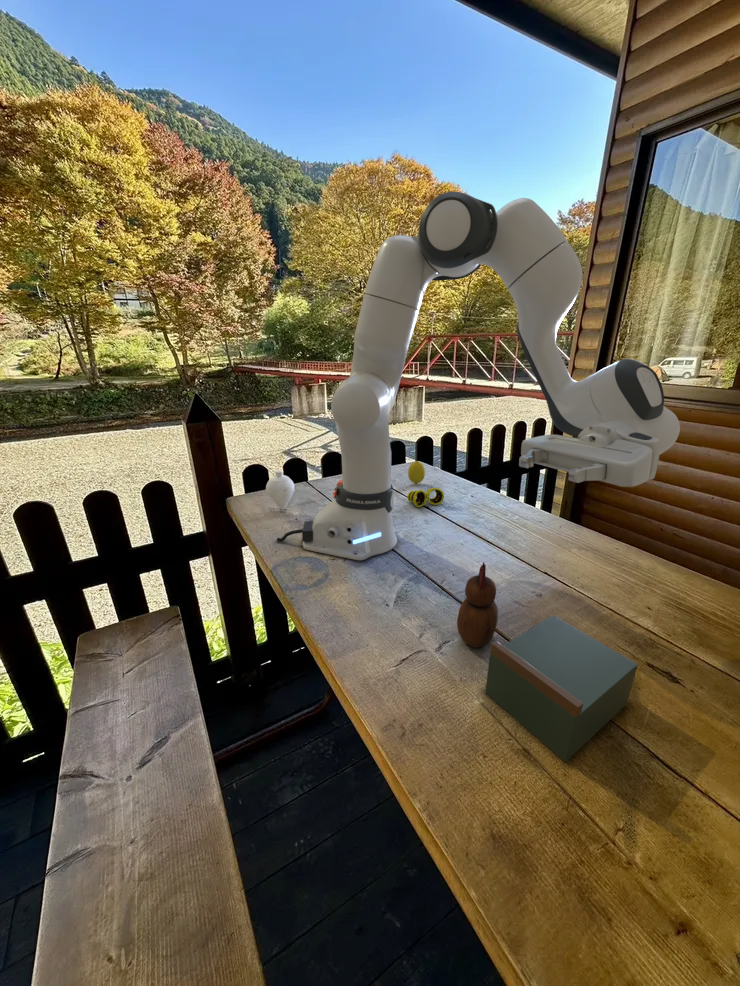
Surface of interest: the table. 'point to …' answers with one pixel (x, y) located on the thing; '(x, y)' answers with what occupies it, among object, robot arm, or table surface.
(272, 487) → the spinning top
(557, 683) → the step stand
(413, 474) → the lemon
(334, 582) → the table surface
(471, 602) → the wooden figurine
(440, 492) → the opera glasses
